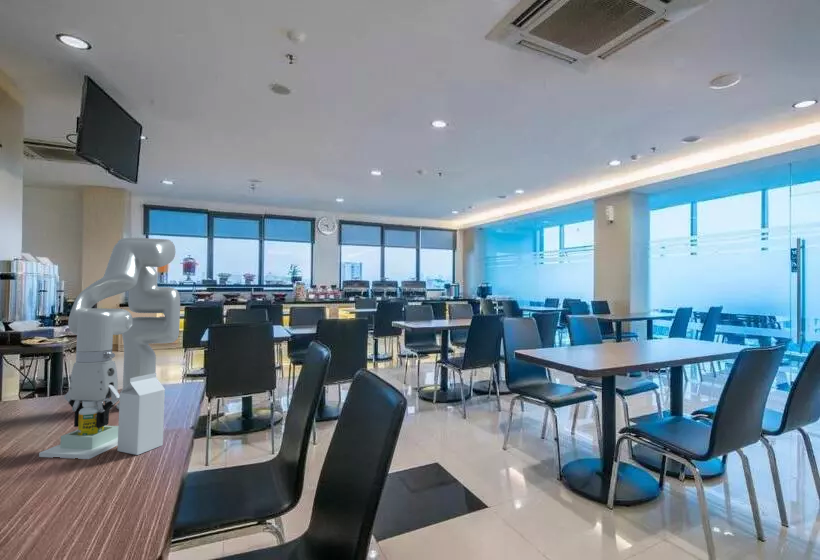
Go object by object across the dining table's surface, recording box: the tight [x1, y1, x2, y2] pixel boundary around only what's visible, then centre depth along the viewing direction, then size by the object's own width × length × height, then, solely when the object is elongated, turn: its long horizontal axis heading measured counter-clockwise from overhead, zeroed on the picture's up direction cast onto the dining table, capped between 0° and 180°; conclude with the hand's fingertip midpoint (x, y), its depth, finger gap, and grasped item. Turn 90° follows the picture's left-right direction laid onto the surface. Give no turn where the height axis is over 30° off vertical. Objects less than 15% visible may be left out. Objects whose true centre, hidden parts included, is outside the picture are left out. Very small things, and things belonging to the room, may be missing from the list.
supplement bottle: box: [77, 401, 104, 436], centre depth 105 cm, size 5×5×10 cm
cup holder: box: [38, 425, 118, 460], centre depth 104 cm, size 15×13×4 cm
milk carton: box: [116, 372, 166, 456], centre depth 104 cm, size 7×7×19 cm
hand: (91, 424), depth 105 cm, fingers closed on supplement bottle, 5 cm apart
